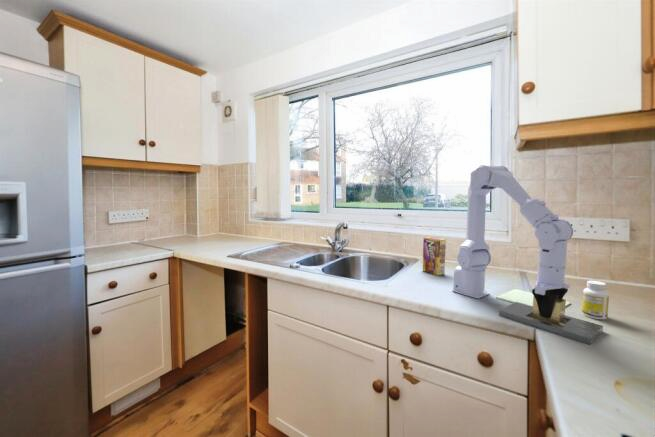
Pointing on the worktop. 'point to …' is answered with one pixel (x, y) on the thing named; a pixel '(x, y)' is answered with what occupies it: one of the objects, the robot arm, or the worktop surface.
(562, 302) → the tan rectangular block
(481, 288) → the robot arm
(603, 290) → the supplement bottle
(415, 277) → the worktop surface
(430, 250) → the candy box
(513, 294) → the sage mat
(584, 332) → the iron frame
